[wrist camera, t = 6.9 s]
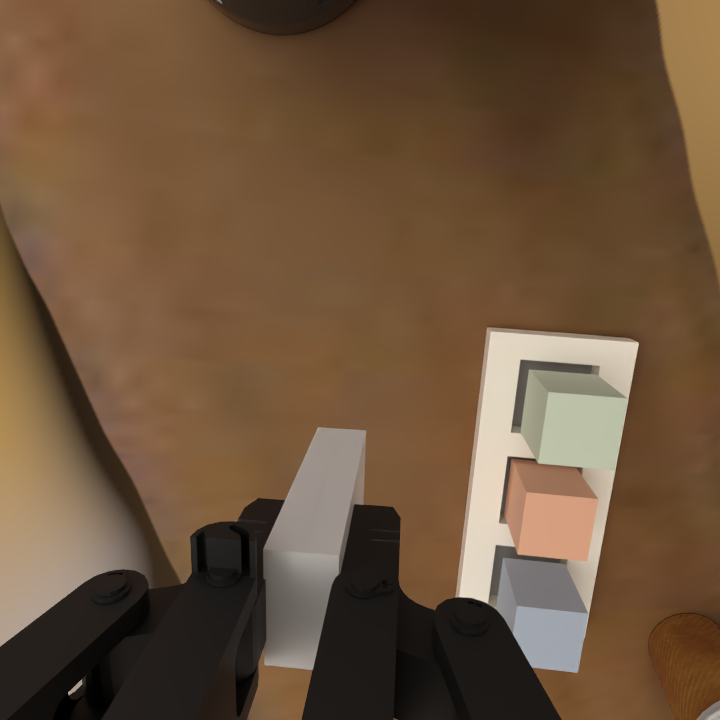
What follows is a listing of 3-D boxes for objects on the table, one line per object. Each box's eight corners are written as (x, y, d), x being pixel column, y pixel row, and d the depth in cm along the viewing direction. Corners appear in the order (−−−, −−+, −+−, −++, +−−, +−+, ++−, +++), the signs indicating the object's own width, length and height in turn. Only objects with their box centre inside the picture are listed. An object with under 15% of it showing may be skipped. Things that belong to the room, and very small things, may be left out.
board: (487, 327, 44) (490, 331, 42) (628, 337, 43) (638, 342, 41) (454, 608, 50) (456, 623, 48) (577, 622, 49) (584, 637, 47)
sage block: (528, 369, 42) (548, 392, 36) (596, 374, 41) (627, 398, 35) (520, 431, 43) (538, 463, 37) (586, 437, 42) (614, 470, 37)
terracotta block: (511, 458, 45) (526, 492, 39) (573, 464, 45) (598, 499, 39) (503, 513, 46) (517, 554, 40) (564, 519, 46) (587, 561, 40)
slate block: (503, 557, 45) (516, 605, 39) (565, 564, 45) (588, 613, 39) (495, 610, 46) (508, 664, 41) (556, 617, 46) (577, 672, 40)
